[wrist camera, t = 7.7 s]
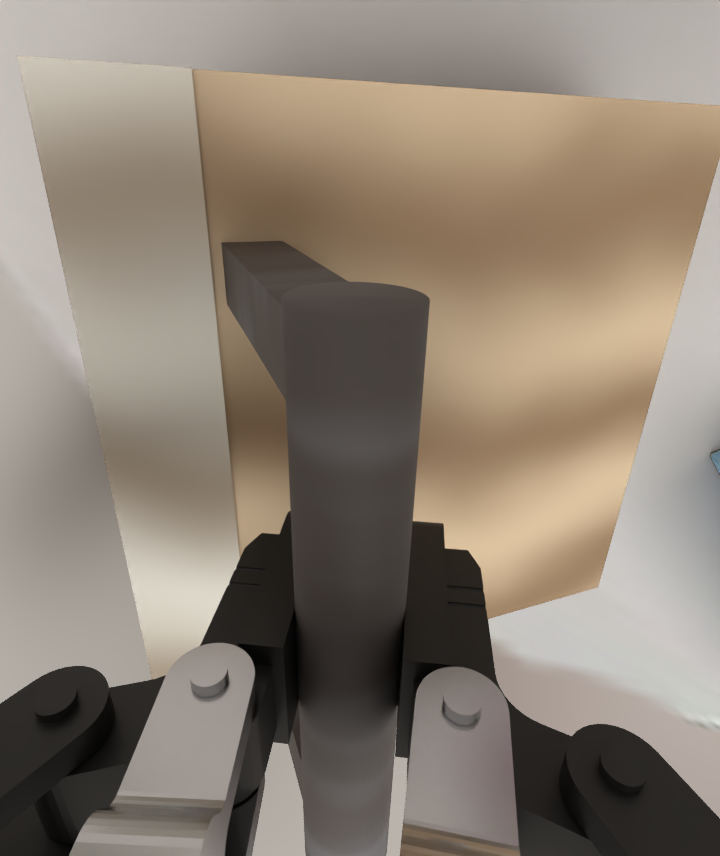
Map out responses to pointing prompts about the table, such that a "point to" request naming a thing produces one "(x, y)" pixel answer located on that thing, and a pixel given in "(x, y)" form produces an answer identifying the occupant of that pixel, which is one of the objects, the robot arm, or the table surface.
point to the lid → (362, 350)
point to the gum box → (716, 459)
